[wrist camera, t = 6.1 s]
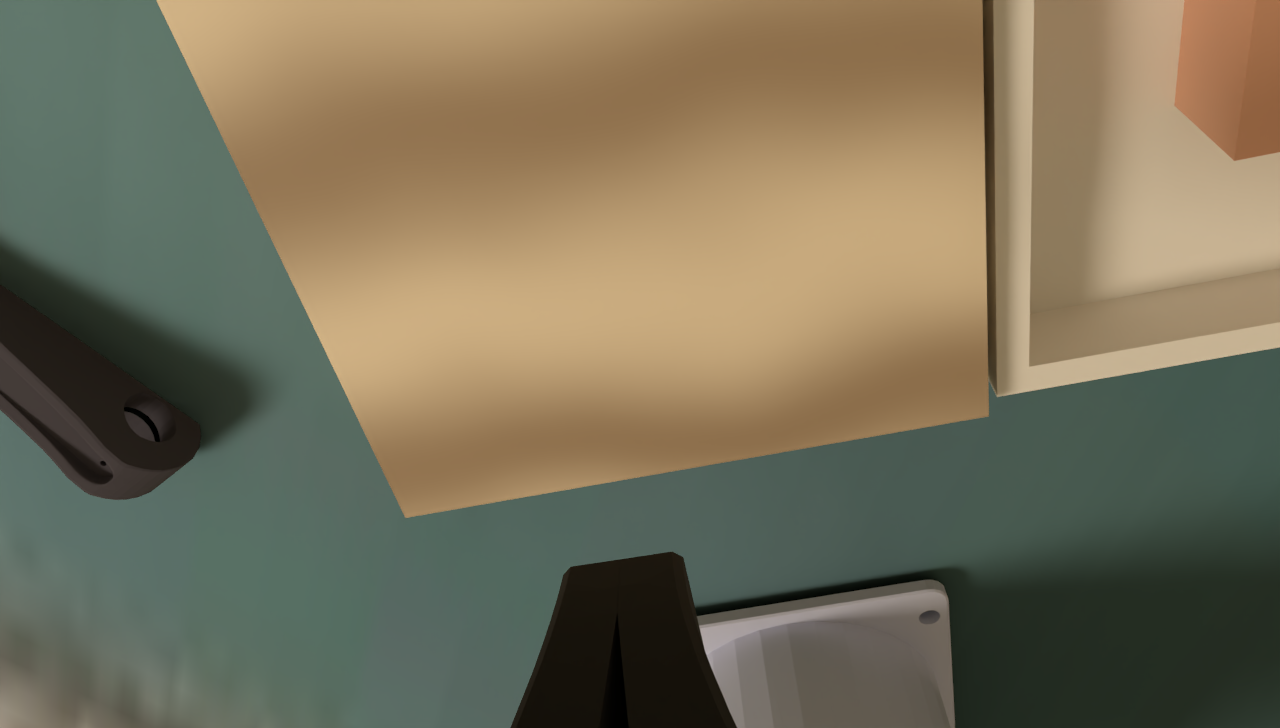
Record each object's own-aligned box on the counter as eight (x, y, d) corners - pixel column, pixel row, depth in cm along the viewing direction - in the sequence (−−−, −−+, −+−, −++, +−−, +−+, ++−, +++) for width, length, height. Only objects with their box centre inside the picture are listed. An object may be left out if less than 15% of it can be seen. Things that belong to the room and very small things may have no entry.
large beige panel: (953, 339, 22) (989, 415, 20) (422, 436, 23) (405, 517, 21) (919, -520, 14) (974, -536, 12) (98, -303, 15) (19, -285, 13)
